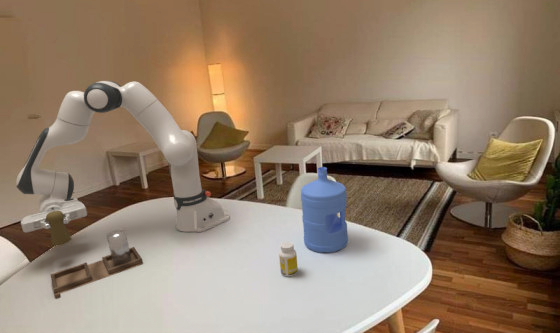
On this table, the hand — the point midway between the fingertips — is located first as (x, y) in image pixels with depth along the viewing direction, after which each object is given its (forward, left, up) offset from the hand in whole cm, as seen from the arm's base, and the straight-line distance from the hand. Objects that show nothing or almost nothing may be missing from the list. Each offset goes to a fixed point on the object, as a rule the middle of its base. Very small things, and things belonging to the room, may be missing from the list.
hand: (57, 224), depth 132 cm
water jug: (-78, +47, -17) cm, 93 cm away
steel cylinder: (-16, +12, -15) cm, 25 cm away
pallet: (-8, +12, -17) cm, 22 cm away
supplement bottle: (-57, +54, -17) cm, 81 cm away
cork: (0, -1, -7) cm, 7 cm away
